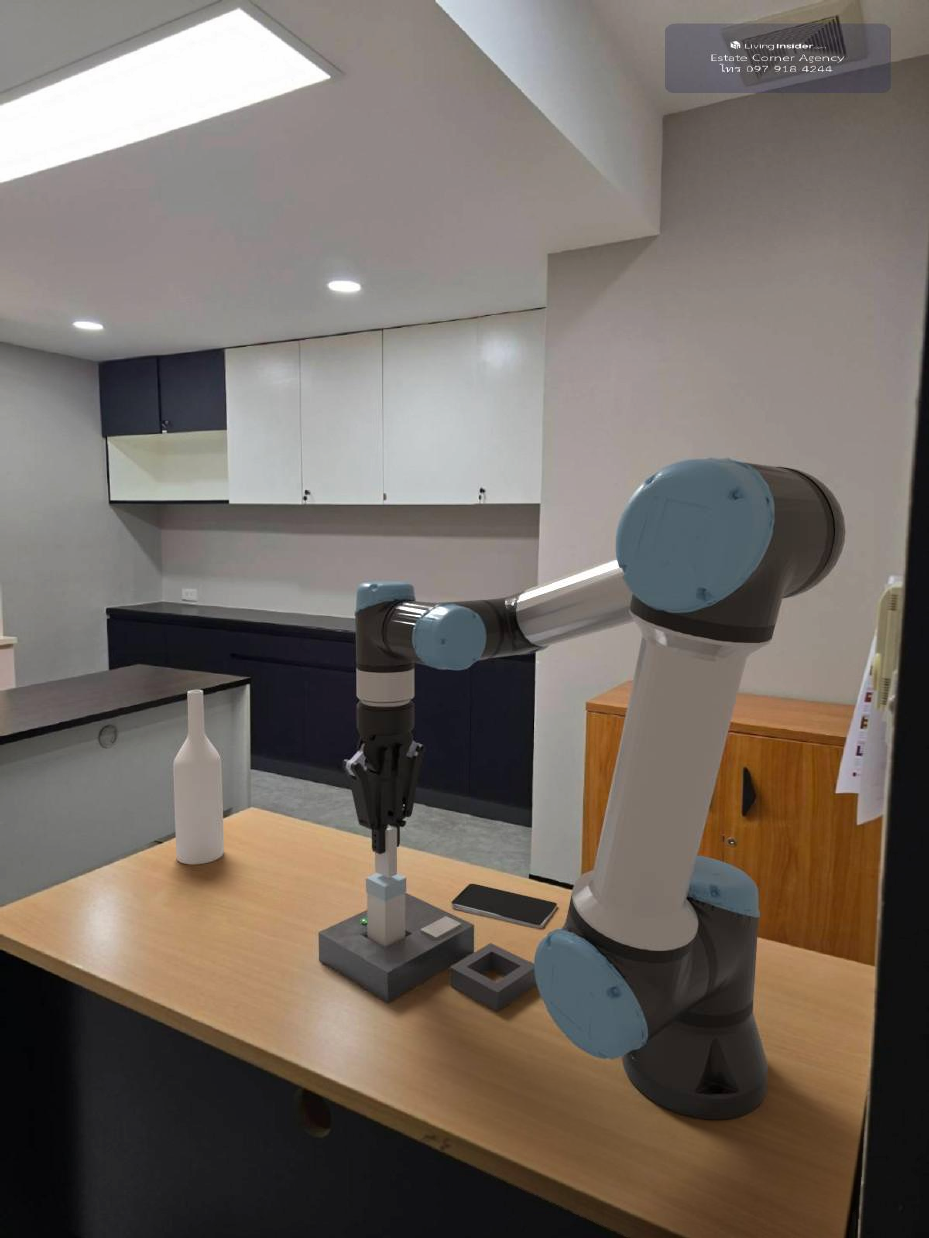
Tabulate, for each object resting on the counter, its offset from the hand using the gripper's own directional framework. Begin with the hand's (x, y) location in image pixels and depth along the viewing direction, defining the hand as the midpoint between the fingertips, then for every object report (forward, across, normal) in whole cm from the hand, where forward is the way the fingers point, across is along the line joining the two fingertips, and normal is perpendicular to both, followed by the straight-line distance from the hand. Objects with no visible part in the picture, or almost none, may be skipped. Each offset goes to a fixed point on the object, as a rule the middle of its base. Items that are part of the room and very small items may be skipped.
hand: (386, 872), depth 103 cm
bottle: (+13, 0, -50) cm, 52 cm away
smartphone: (+13, -23, +2) cm, 27 cm away
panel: (+13, -2, 0) cm, 13 cm away
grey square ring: (+13, -6, +14) cm, 20 cm away
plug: (+13, 0, 0) cm, 13 cm away
